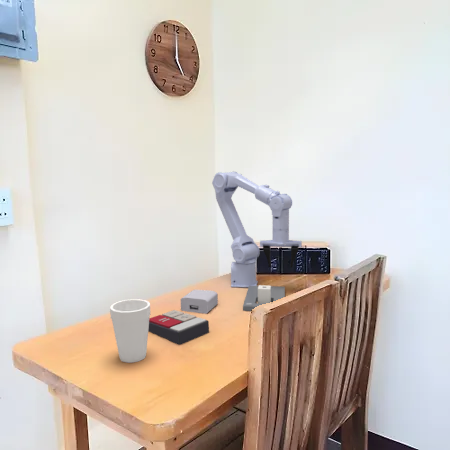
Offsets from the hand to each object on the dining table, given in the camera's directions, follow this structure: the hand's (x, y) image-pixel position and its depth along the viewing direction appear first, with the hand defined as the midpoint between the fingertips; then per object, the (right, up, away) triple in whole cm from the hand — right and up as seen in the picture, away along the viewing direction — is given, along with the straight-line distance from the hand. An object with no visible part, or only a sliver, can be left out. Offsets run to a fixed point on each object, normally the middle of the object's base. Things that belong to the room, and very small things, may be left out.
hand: (280, 266), depth 148 cm
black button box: (-33, -16, -31) cm, 48 cm away
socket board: (-6, -11, -7) cm, 14 cm away
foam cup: (-42, -18, -46) cm, 65 cm away
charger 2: (-7, -11, -11) cm, 17 cm away
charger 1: (-27, -12, -10) cm, 31 cm away
